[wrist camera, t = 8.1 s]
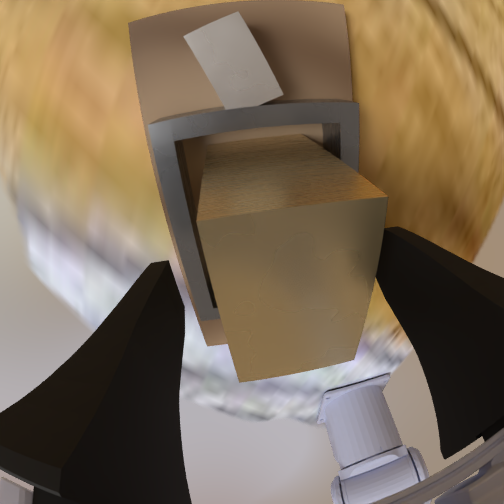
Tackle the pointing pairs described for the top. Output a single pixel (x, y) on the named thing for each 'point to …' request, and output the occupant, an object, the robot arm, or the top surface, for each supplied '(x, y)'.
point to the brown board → (236, 102)
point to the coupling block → (288, 252)
